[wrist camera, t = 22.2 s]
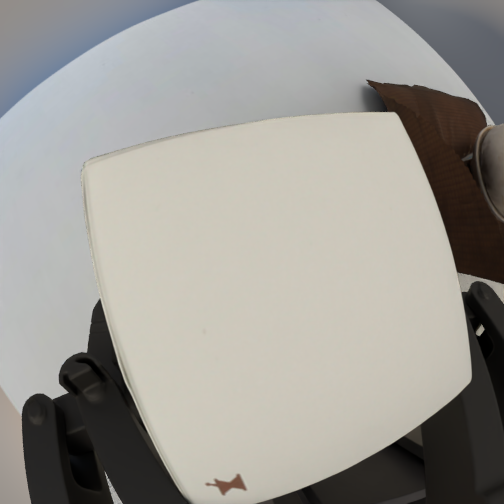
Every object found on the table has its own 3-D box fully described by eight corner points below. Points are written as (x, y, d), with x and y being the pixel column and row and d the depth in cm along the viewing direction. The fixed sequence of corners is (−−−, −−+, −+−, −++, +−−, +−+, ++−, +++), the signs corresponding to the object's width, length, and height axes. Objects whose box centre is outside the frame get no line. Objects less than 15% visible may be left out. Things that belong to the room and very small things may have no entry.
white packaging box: (312, 338, 17) (478, 389, 5) (196, 375, 16) (185, 527, 3) (279, 225, 18) (403, 105, 6) (162, 255, 16) (67, 157, 4)
